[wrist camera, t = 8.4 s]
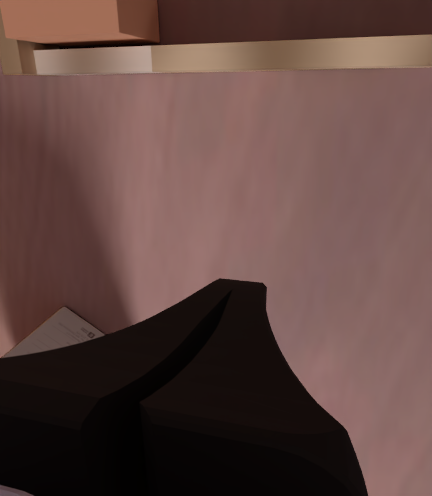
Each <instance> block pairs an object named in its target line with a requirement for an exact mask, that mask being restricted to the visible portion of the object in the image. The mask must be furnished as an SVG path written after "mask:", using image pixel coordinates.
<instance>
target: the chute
mask: <svg viewBox="0 0 432 496" xmlns="http://www.w3.org/2000/svg"><path fill="white" fill-rule="evenodd" d="M0 60H1V65H2V70H3V74H6V75H36V76H59V75H104V74H149V73H194V72H238V71H283V70H328V69H373V68H417V67H432V35H408V36H382V37H357V38H332V39H307V40H282V41H257V42H232V43H207V44H182V45H157V46H132V47H107V48H82V49H59V46H58V45H51V44H44V43H37V42H30V41H24V40H17V39H10V38H6V36H5V30H4V25H3V19H2V14H1V8H0Z"/></svg>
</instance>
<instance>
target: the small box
mask: <svg viewBox="0 0 432 496" xmlns="http://www.w3.org/2000/svg"><path fill="white" fill-rule="evenodd" d="M104 335H105V334H103V333H102V332H101V331H99V330H98V329H96V328H95V327H93V326H92V325H91V324H89V323H88V322H86V321H85V320H83V319H82V318H80V317H79V316H78V315H76V314H75V313H73V312H72V311H70V310H69V309H68V308H66V307H62V308H60V309H59V310H58V311H57V312H55V313H54V314H53V315H52V316H50V317H49V318H48V319H47V320H46V321H44V322H43V323H42V324H41V325H40V326H38V327H37V328H36V329H35V330H34V331H33V332H31V333H30V334H29V335H28V336H27V337H26V338H24V339H23V340H22V341H21V342H20V343H18V344H17V345H16V346H15V347H14V348H12V349H11V350H10V351H9V352H8V353H6V354H5V355H4V356H3V357H1V358H5V357H12V356H19V355H26V354H32V353H37V352H43V351H47V350H52V349H57V348H62V347H66V346H70V345H74V344H78V343H82V342H85V341H88V340H91V339H95V338H98V337H101V336H104Z"/></svg>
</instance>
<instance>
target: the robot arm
mask: <svg viewBox="0 0 432 496" xmlns="http://www.w3.org/2000/svg"><path fill="white" fill-rule="evenodd" d="M266 294H267V287H266V286H265V285H264V284H263V283H259V282H249V281H239V280H230V279H218V280H216V281H214V282H212V283H210V284H209V285H207V286H205V287H204V288H202V289H201V290H199V291H197V292H196V293H194V294H192V295H191V296H189V297H187V298H186V299H184V300H182V301H181V302H179V303H177V304H175V305H173V306H171V307H170V308H168V309H166V310H164V311H162V312H160V313H158V314H156V315H154V316H152V317H150V318H148V319H146V320H144V321H142V322H139V323H137V324H135V325H132V326H130V327H127V328H125V329H122V330H119V331H117V332H114V333H111V334H107V335H104V336H101V337H98V338H95V339H91V340H88V341H85V342H82V343H78V344H74V345H70V346H66V347H62V348H57V349H52V350H47V351H43V352H37V353H32V354H26V355H19V356H12V357H5V358H0V496H368V493H367V489H366V485H365V481H364V478H363V474H362V471H361V468H360V465H359V462H358V459H357V456H356V453H355V451H354V448H353V445H352V443H351V440H350V437H349V435H348V432H347V430H346V429H345V428H344V427H343V426H342V425H341V424H340V423H339V422H338V421H337V420H336V419H334V418H333V417H332V416H331V415H330V414H329V413H328V412H327V411H326V410H324V409H323V408H322V407H321V406H320V405H319V404H318V403H317V402H316V401H315V400H314V399H313V397H312V396H311V395H310V394H309V393H308V392H307V390H306V389H305V388H304V386H303V385H302V384H301V382H300V381H299V379H298V378H297V377H296V375H295V374H294V373H293V371H292V370H291V368H290V366H289V365H288V363H287V361H286V360H285V358H284V356H283V354H282V352H281V350H280V349H279V346H278V344H277V342H276V340H275V337H274V335H273V332H272V329H271V326H270V323H269V320H268V316H267V312H266Z"/></svg>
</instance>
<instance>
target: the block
mask: <svg viewBox="0 0 432 496" xmlns="http://www.w3.org/2000/svg"><path fill="white" fill-rule="evenodd" d="M0 8H1V14H2V19H3V25H4V30H5V36H6V38H10V39H17V40H24V41H30V42H37V43H44V44H51V45H58V46H87V45H111V44H135V43H159V42H160V38H159V20H158V3H157V0H0Z"/></svg>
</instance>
